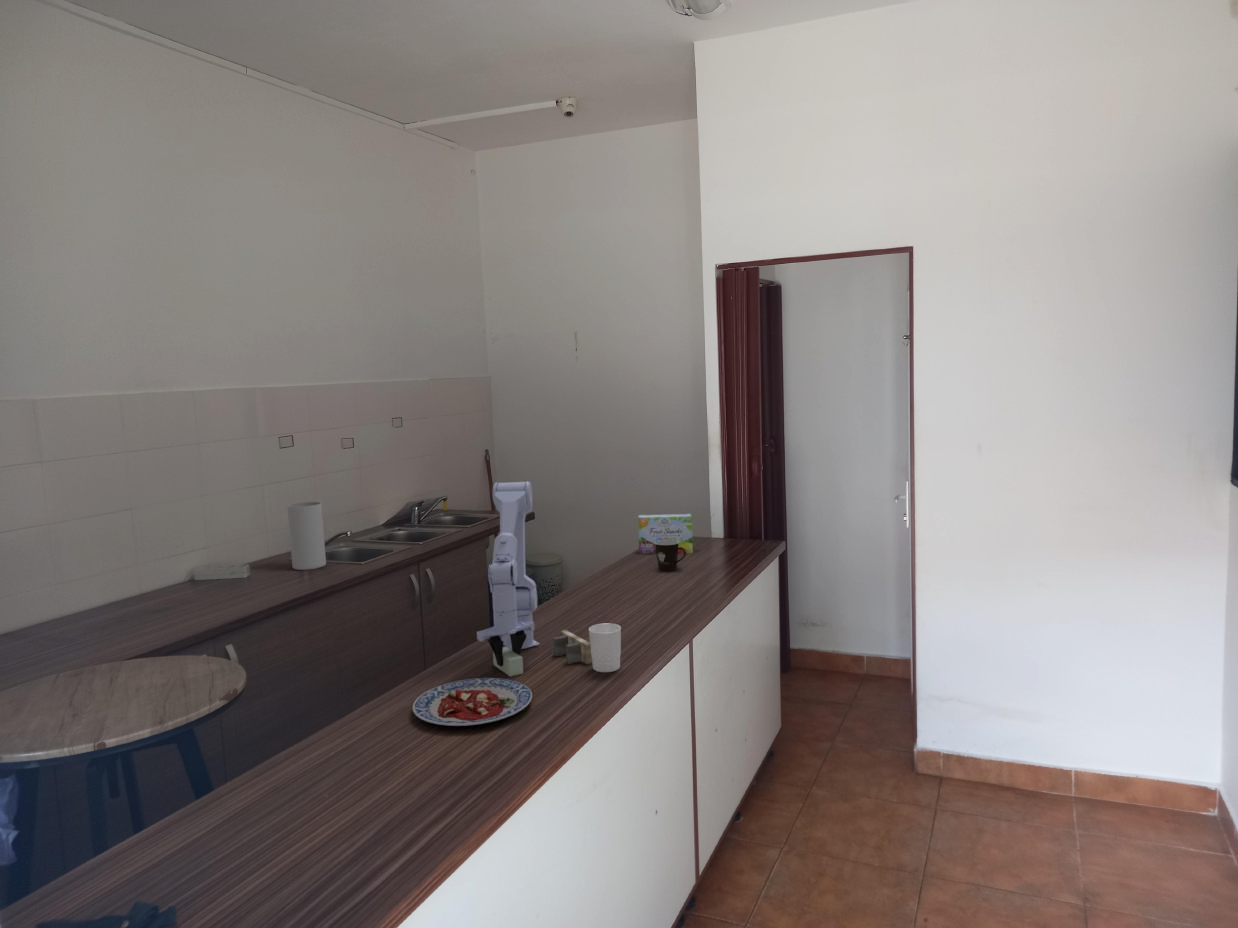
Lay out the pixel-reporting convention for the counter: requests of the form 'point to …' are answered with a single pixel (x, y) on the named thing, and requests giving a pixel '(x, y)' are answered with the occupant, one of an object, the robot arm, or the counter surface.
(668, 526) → the snack box
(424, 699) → the ceramic plate
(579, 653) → the wooden base
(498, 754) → the counter surface
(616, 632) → the white cup
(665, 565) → the coffee mug
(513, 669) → the block
